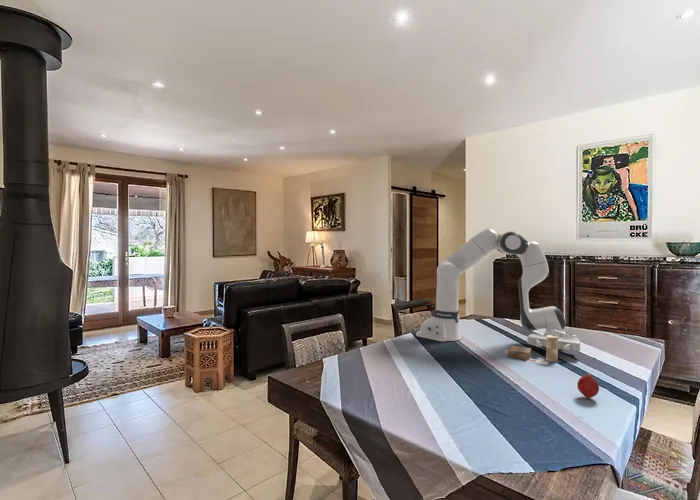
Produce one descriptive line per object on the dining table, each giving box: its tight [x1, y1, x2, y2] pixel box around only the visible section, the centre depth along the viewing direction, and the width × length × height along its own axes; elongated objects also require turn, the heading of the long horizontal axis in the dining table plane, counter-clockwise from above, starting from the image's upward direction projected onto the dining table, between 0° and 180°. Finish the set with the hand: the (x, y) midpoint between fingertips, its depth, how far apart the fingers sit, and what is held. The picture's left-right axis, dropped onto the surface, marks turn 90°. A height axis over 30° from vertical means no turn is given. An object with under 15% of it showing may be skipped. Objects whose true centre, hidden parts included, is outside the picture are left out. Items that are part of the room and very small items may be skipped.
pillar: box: [545, 335, 559, 363], centre depth 156 cm, size 4×4×10 cm
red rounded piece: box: [576, 373, 600, 399], centre depth 118 cm, size 6×6×8 cm
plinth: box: [508, 345, 532, 361], centre depth 161 cm, size 8×8×3 cm
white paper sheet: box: [525, 358, 549, 366], centre depth 154 cm, size 8×5×1 cm, turn 59°
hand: (552, 346), depth 157 cm, fingers open, 8 cm apart
